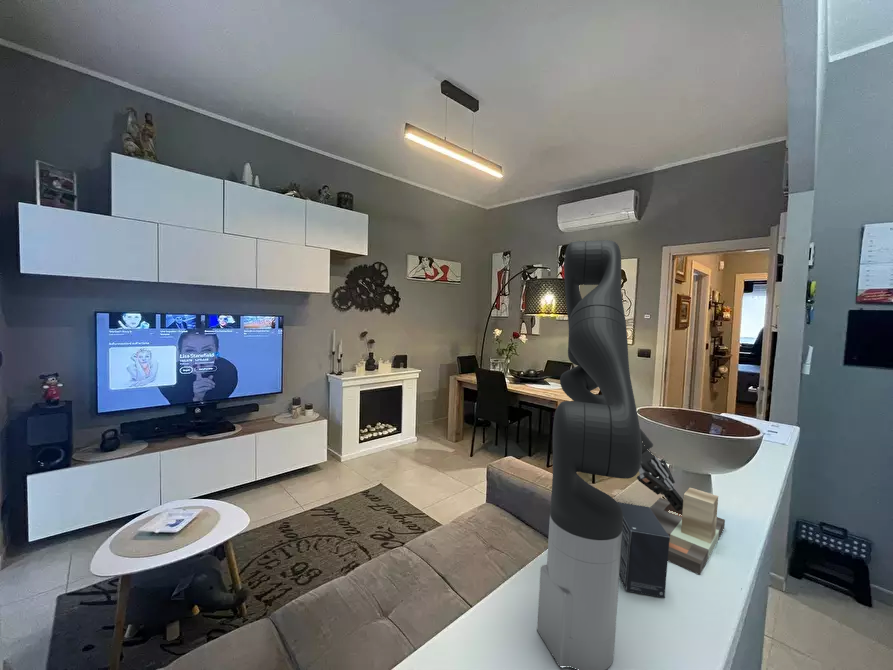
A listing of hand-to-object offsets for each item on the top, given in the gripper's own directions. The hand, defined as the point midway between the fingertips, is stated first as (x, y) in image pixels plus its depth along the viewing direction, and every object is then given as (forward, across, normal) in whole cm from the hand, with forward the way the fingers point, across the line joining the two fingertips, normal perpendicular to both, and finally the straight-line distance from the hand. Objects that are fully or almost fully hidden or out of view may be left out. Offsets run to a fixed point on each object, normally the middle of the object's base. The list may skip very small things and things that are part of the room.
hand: (682, 508), depth 78 cm
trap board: (+4, 0, +5) cm, 6 cm away
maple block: (+5, 0, +1) cm, 5 cm away
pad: (+6, 0, +2) cm, 7 cm away
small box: (+3, -20, +6) cm, 21 cm away
